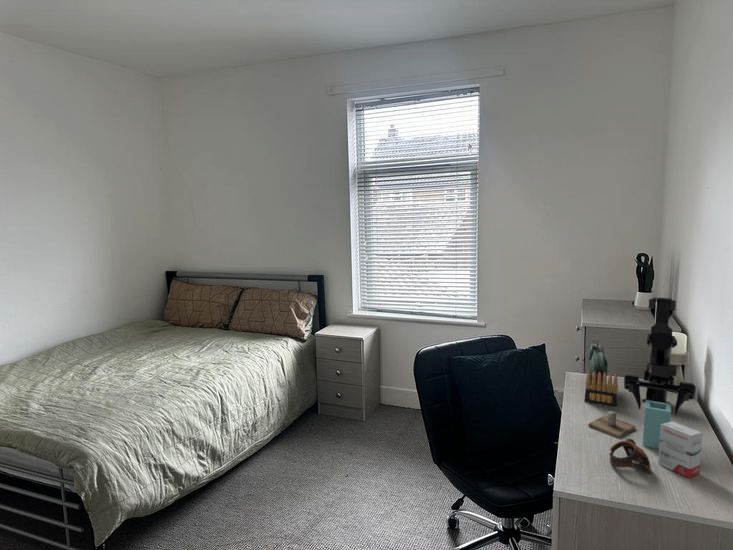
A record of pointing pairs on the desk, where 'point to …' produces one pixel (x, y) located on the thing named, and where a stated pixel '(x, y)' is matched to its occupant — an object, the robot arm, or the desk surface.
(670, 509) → the desk surface
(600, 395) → the ammunition clip
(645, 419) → the teal square planter
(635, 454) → the brown ridged hollow part
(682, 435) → the ink box
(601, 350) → the green lumpy upright piece
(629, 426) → the peg plate
